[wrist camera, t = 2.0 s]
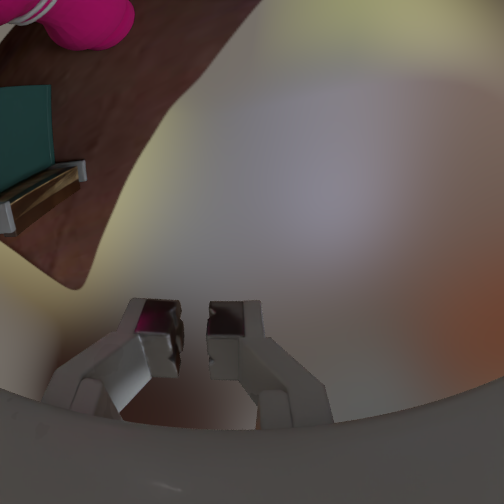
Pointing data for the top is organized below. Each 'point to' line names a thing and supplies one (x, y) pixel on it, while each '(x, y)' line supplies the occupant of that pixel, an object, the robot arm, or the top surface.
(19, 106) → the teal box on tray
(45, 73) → the top surface
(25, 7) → the pepper mill
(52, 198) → the sliding door
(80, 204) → the top surface
